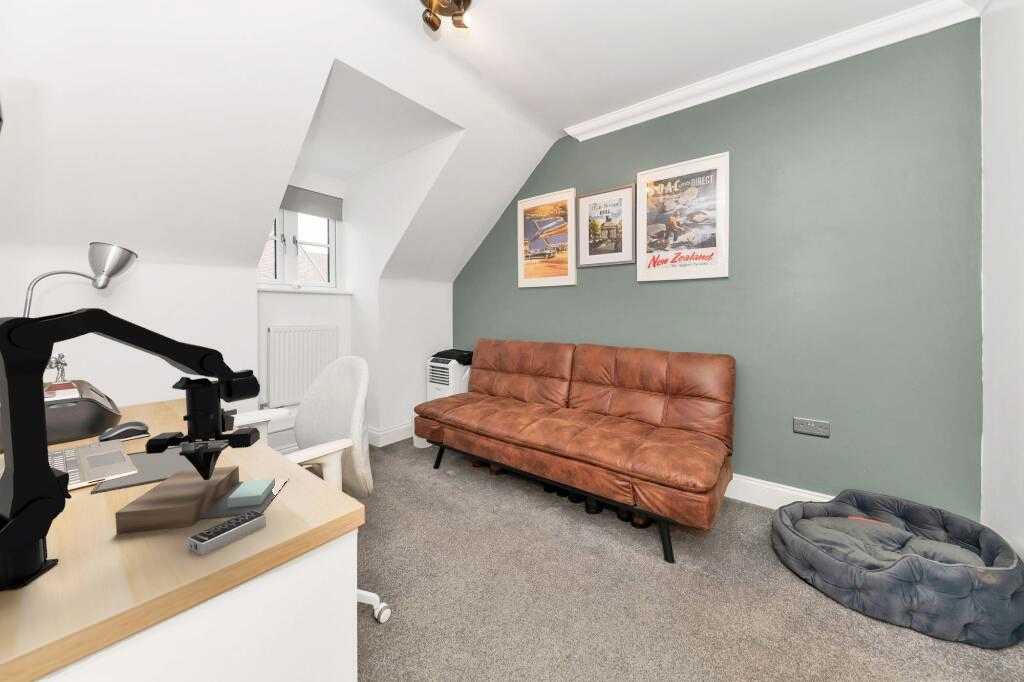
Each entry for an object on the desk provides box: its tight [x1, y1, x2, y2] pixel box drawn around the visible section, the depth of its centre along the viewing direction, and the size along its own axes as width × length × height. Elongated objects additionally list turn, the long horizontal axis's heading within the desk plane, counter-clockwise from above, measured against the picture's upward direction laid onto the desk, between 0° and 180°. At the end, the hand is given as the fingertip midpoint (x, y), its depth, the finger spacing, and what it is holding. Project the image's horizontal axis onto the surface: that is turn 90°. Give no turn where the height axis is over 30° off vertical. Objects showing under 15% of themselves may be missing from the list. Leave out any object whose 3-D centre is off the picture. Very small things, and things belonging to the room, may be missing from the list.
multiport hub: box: [187, 510, 267, 556], centre depth 71 cm, size 4×11×2 cm, turn 155°
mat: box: [199, 480, 276, 520], centre depth 87 cm, size 17×11×1 cm, turn 13°
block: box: [228, 477, 276, 508], centre depth 86 cm, size 9×6×2 cm, turn 15°
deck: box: [114, 465, 240, 535], centre depth 83 cm, size 20×12×4 cm, turn 13°
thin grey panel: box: [90, 446, 196, 495], centre depth 105 cm, size 19×1×28 cm
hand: (207, 479), depth 84 cm, fingers closed
